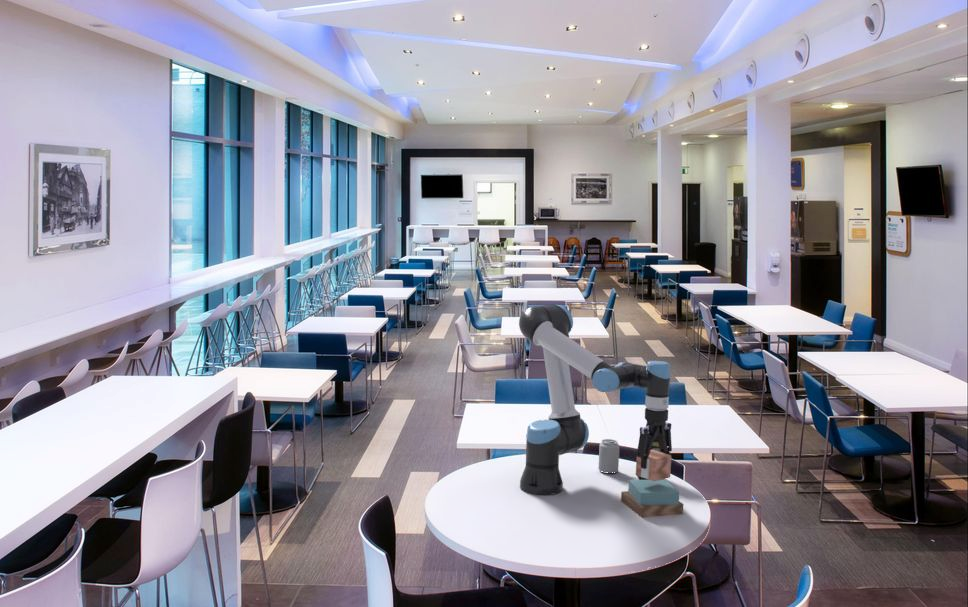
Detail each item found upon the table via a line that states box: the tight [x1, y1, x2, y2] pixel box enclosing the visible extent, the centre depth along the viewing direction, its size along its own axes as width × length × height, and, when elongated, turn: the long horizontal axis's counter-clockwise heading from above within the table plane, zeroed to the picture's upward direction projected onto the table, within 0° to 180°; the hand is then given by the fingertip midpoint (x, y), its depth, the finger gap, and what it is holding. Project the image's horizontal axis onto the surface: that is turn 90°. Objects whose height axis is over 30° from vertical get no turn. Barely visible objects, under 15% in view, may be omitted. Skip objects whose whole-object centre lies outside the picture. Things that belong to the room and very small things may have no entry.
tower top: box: [627, 479, 680, 505], centre depth 261 cm, size 13×13×4 cm
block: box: [635, 450, 672, 482], centre depth 261 cm, size 8×8×8 cm
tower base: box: [620, 490, 685, 518], centre depth 261 cm, size 15×15×4 cm
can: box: [597, 438, 620, 474], centre depth 298 cm, size 8×8×12 cm
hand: (653, 475), depth 261 cm, fingers closed on block, 8 cm apart
